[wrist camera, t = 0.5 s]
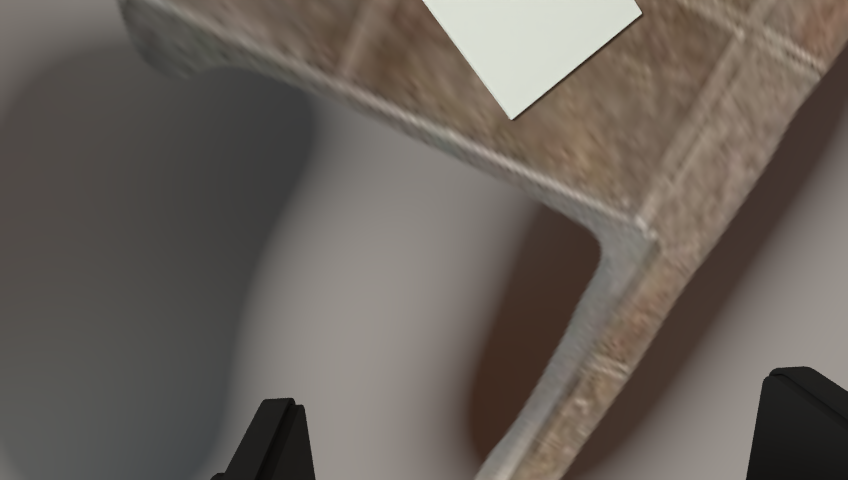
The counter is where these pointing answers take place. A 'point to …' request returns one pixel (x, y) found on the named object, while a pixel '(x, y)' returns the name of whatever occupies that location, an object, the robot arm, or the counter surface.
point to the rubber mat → (529, 40)
